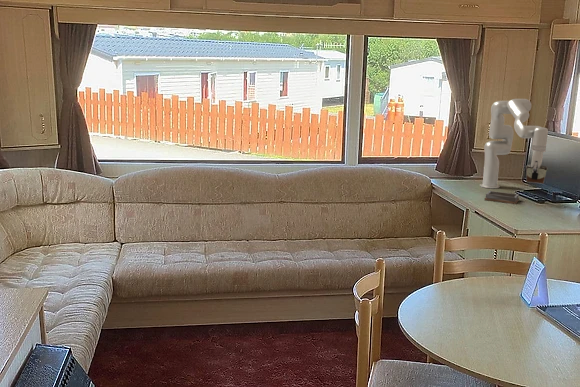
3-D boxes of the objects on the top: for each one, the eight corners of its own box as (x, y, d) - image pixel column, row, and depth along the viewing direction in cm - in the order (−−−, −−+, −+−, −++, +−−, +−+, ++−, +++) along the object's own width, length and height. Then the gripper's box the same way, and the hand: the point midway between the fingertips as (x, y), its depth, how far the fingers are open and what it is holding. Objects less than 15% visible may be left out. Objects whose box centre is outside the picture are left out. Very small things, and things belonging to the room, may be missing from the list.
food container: (545, 181, 337) (547, 165, 335) (546, 183, 332) (548, 167, 329) (523, 179, 341) (525, 163, 339) (523, 181, 336) (525, 165, 333)
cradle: (488, 196, 355) (489, 190, 354) (518, 199, 347) (519, 194, 346) (484, 200, 344) (485, 194, 343) (515, 204, 336) (516, 198, 335)
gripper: (533, 146, 340) (530, 175, 344) (530, 149, 326) (526, 180, 330) (547, 147, 337) (543, 176, 341) (544, 151, 322) (540, 181, 326)
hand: (535, 178), depth 335 cm, fingers closed on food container, 5 cm apart
